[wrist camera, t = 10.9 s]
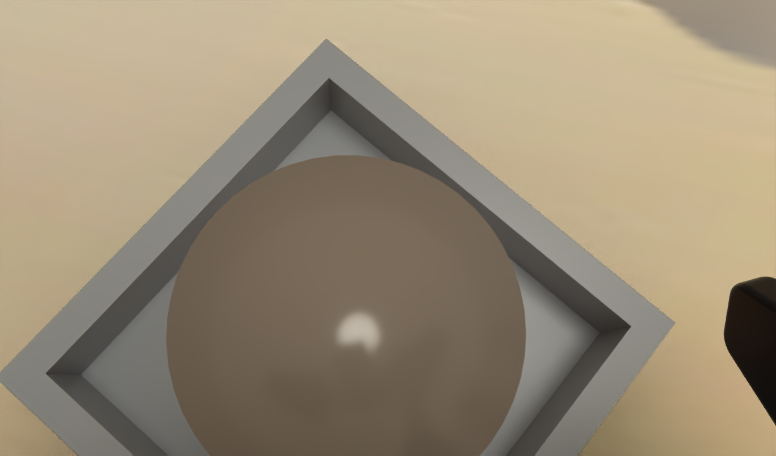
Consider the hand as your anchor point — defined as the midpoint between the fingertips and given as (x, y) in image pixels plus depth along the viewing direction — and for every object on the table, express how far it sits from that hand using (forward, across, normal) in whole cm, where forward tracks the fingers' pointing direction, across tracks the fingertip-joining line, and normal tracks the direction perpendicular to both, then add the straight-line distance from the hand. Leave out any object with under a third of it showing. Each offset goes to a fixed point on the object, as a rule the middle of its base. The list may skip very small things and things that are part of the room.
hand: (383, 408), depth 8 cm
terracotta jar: (+8, 0, +7) cm, 11 cm away
